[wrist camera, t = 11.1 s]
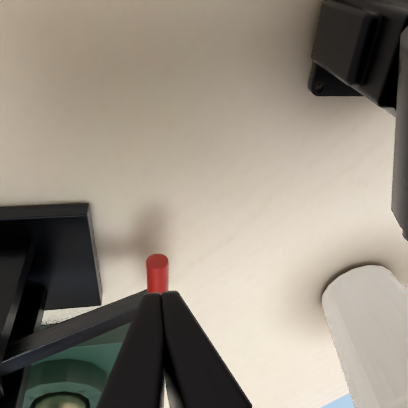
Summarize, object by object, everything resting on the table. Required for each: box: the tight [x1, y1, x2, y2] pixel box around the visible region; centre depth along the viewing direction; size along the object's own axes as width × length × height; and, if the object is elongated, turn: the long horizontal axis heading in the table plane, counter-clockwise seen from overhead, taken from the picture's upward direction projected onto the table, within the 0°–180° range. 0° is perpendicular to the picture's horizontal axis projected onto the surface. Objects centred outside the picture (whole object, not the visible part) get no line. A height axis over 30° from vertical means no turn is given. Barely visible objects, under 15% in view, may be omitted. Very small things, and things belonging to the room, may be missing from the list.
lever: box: [0, 254, 168, 398], centre depth 20 cm, size 12×6×2 cm, turn 87°
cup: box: [322, 265, 408, 408], centre depth 26 cm, size 10×10×13 cm
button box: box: [22, 323, 131, 408], centre depth 29 cm, size 12×9×4 cm
